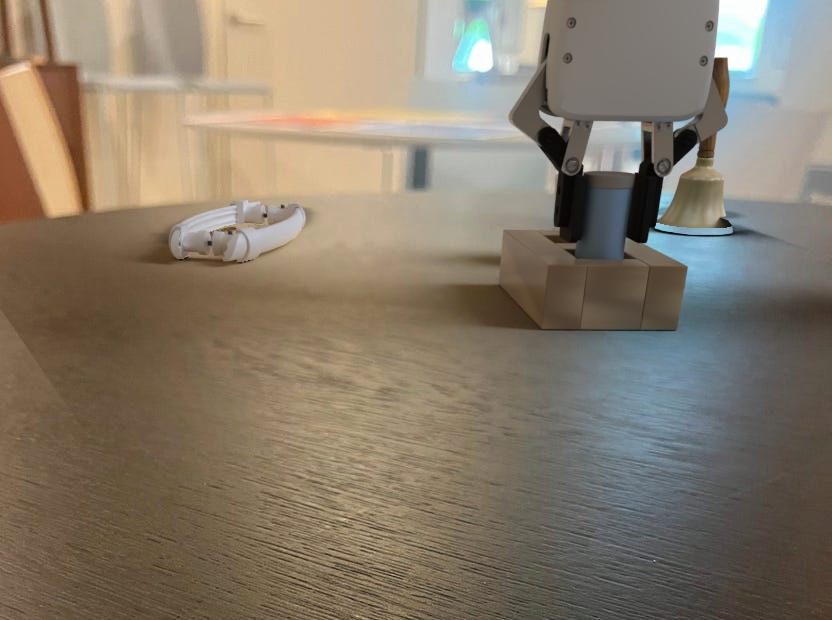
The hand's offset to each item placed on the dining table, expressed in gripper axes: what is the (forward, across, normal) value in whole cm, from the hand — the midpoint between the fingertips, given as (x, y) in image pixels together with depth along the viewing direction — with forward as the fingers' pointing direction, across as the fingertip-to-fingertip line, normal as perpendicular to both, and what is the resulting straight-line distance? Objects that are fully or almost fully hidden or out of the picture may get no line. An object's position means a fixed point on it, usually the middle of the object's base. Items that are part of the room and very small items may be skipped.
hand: (602, 236), depth 68 cm
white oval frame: (+5, +25, -30) cm, 40 cm away
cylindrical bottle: (+5, 0, 0) cm, 5 cm away
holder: (+5, 0, -3) cm, 6 cm away
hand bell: (+5, -22, -42) cm, 48 cm away
